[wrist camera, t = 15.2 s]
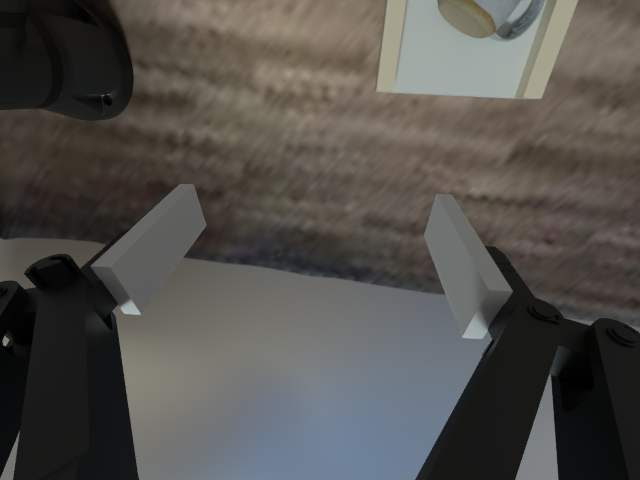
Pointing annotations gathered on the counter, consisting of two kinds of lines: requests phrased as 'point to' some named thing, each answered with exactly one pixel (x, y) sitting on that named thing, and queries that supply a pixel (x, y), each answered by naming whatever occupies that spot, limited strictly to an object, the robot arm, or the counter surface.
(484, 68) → the rail tray
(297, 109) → the counter surface
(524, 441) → the robot arm
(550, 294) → the counter surface
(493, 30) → the ceramic mug
